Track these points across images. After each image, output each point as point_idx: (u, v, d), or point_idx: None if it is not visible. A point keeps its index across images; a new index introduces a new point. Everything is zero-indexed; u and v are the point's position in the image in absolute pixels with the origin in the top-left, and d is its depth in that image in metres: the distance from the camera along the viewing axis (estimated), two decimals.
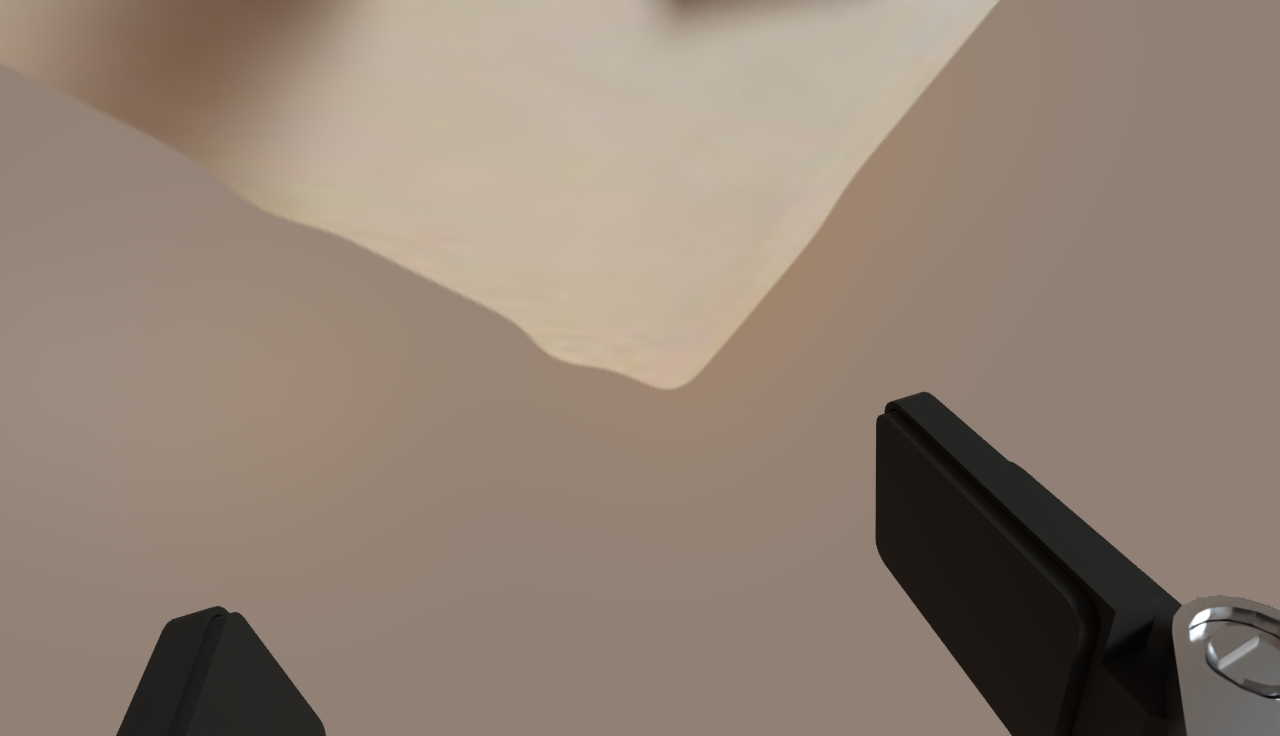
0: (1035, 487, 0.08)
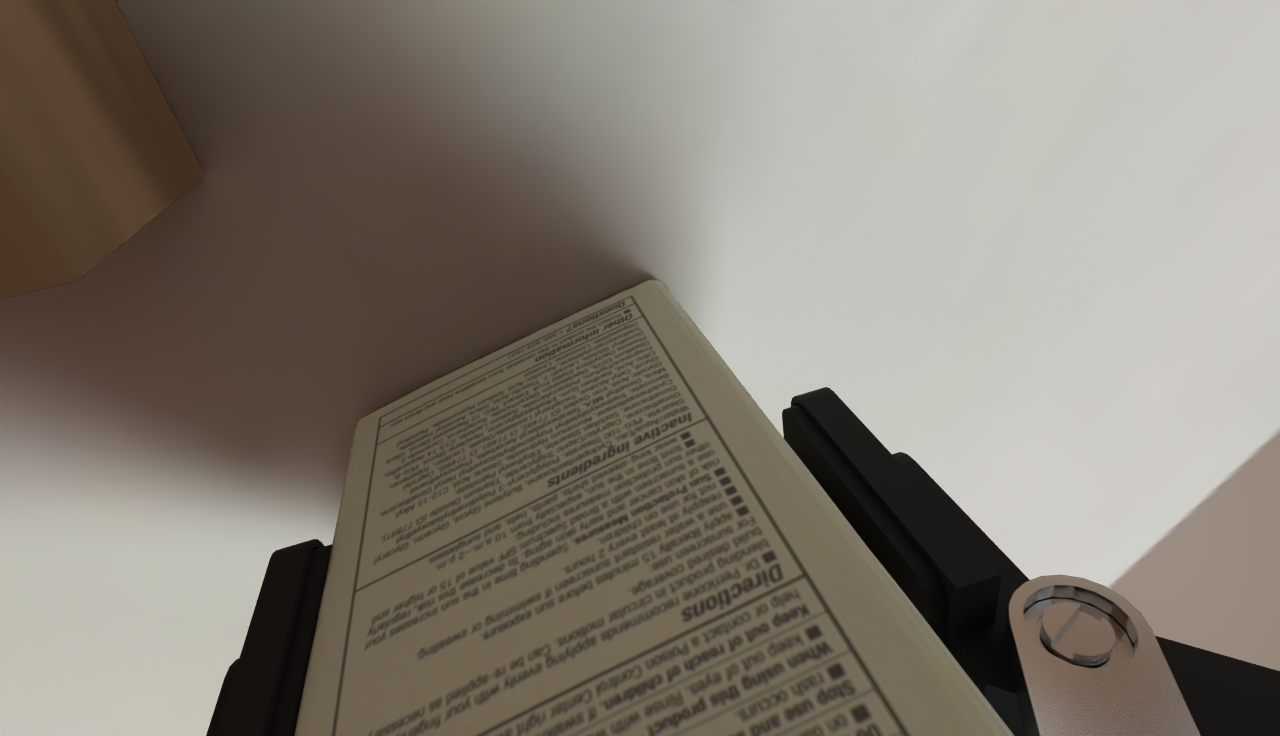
0: (908, 476, 0.08)
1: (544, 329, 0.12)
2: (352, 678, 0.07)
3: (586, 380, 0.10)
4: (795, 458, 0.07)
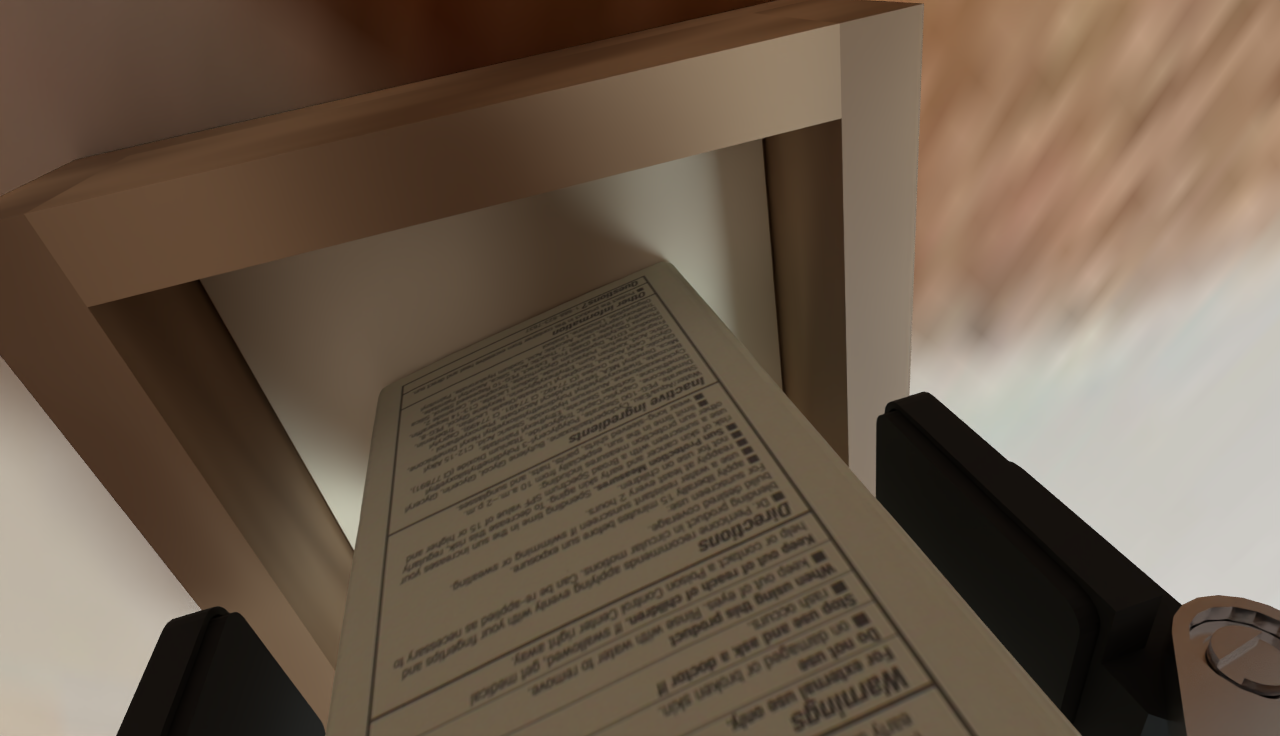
0: (1035, 487, 0.08)
1: (560, 307, 0.13)
2: (390, 608, 0.08)
3: (603, 350, 0.11)
4: (801, 415, 0.08)
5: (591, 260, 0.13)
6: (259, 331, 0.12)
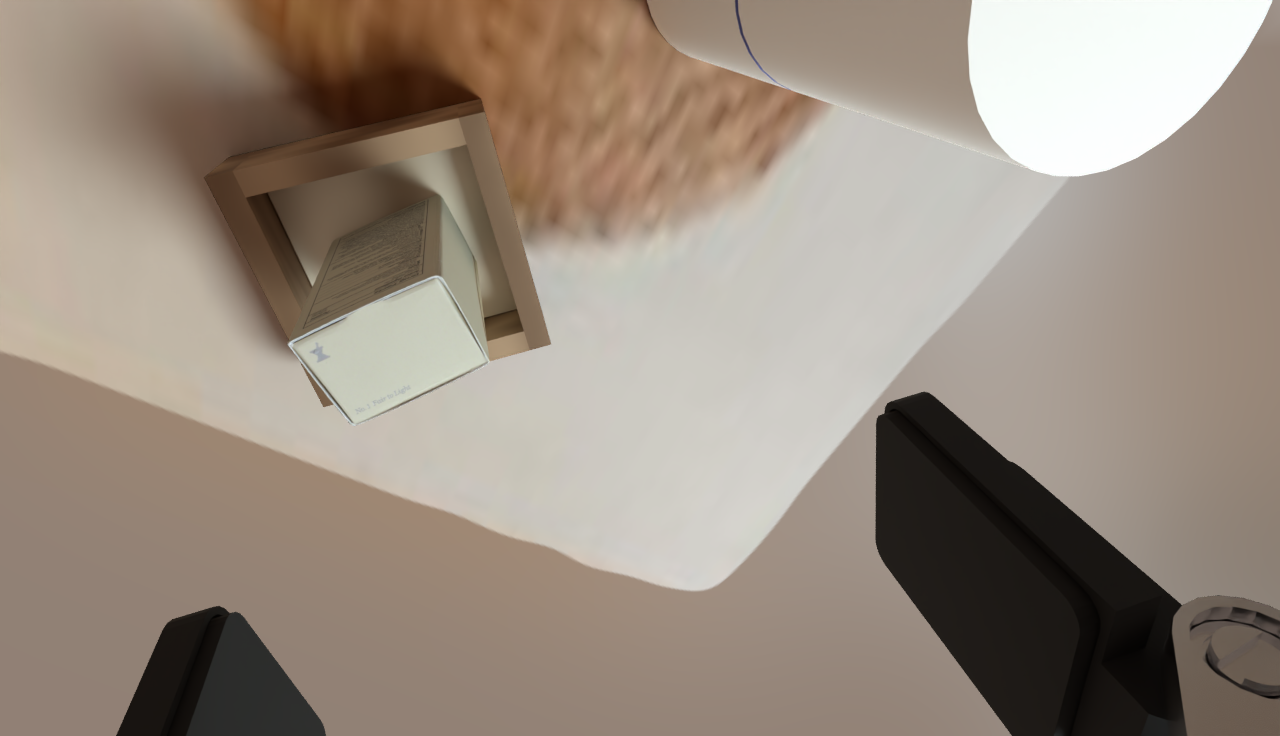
0: (1035, 487, 0.08)
1: None
2: (327, 274, 0.30)
3: (403, 219, 0.33)
4: (439, 225, 0.30)
5: (409, 193, 0.35)
6: (289, 217, 0.34)
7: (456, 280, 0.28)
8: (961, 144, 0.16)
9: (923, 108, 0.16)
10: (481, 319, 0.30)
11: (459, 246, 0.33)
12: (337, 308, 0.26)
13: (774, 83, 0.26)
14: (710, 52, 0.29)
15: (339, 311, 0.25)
